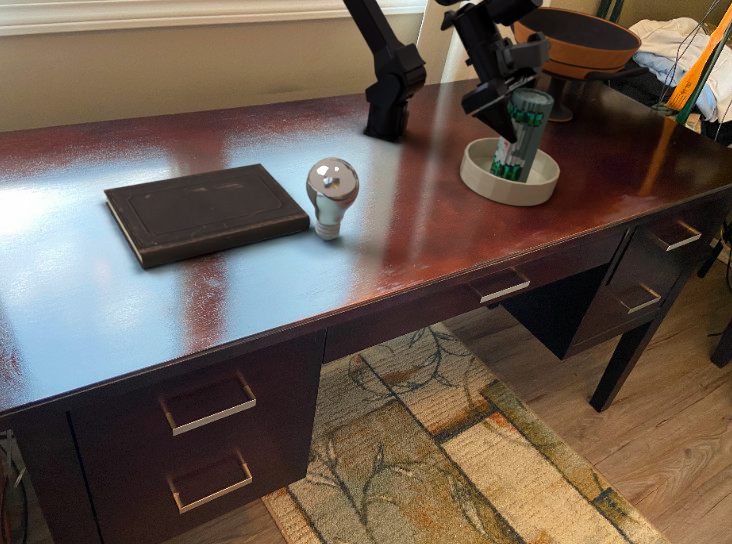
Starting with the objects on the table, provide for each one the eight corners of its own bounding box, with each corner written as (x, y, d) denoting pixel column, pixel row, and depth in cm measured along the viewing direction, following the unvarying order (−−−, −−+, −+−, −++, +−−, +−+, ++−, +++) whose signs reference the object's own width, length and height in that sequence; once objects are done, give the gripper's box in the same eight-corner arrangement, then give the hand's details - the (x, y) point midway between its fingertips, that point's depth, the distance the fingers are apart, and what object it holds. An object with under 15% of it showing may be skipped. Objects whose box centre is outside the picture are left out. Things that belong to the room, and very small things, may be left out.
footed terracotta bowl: (452, 83, 137) (471, -1, 125) (533, 75, 149) (558, -3, 137) (566, 158, 115) (602, 64, 104) (650, 141, 127) (691, 56, 116)
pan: (450, 187, 100) (455, 166, 98) (470, 149, 112) (476, 129, 109) (545, 216, 97) (554, 194, 95) (556, 174, 109) (564, 154, 107)
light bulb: (332, 260, 81) (342, 180, 73) (291, 239, 83) (296, 159, 75) (361, 237, 86) (373, 161, 78) (320, 218, 88) (328, 142, 80)
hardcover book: (105, 204, 83) (103, 189, 82) (260, 176, 94) (260, 162, 93) (143, 271, 74) (141, 256, 72) (309, 231, 85) (311, 217, 84)
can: (481, 175, 104) (506, 89, 94) (508, 170, 107) (535, 86, 97) (504, 193, 100) (532, 105, 91) (531, 187, 103) (561, 102, 93)
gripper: (502, 25, 82) (550, 130, 86) (550, 5, 95) (590, 97, 98) (439, 65, 90) (485, 160, 94) (491, 41, 103) (530, 125, 106)
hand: (525, 134), depth 98 cm, fingers open, 9 cm apart
